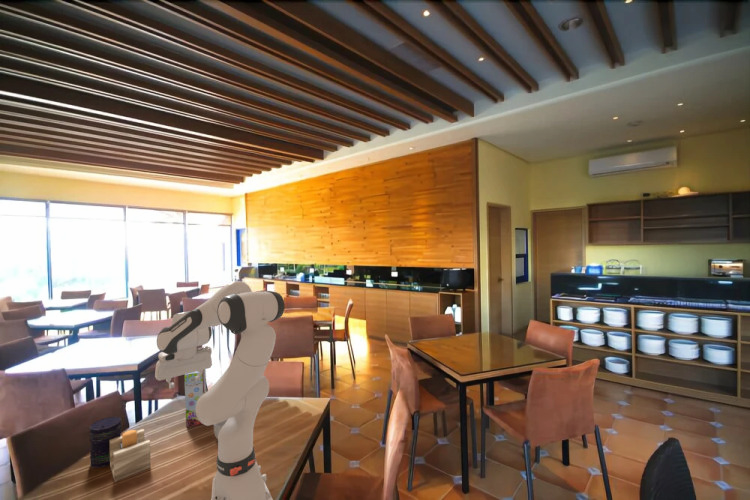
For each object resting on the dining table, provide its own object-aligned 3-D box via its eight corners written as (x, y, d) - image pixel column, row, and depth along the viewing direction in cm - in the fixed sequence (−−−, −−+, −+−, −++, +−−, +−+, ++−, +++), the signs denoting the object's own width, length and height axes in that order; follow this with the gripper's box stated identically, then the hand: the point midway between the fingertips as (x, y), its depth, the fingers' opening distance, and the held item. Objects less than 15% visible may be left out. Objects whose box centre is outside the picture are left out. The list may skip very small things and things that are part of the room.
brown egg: (135, 439, 130) (135, 428, 130) (138, 444, 127) (137, 433, 127) (121, 444, 127) (121, 433, 127) (123, 449, 124) (123, 438, 124)
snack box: (188, 407, 173) (188, 359, 173) (207, 404, 177) (206, 357, 176) (184, 428, 153) (183, 374, 153) (205, 424, 157) (204, 371, 157)
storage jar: (96, 455, 134) (96, 419, 134) (125, 449, 137) (125, 414, 137) (85, 470, 125) (84, 432, 124) (116, 464, 128) (115, 426, 128)
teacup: (229, 445, 140) (229, 426, 140) (207, 442, 142) (207, 424, 142) (248, 427, 154) (248, 410, 154) (228, 425, 156) (228, 408, 156)
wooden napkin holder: (150, 467, 126) (150, 441, 126) (114, 481, 119) (114, 454, 118) (143, 452, 136) (143, 428, 135) (109, 465, 128) (109, 439, 128)
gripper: (208, 343, 143) (209, 375, 143) (153, 355, 128) (154, 389, 129) (214, 346, 138) (214, 379, 139) (157, 358, 124) (157, 394, 124)
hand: (185, 384), depth 133 cm, fingers open, 8 cm apart
